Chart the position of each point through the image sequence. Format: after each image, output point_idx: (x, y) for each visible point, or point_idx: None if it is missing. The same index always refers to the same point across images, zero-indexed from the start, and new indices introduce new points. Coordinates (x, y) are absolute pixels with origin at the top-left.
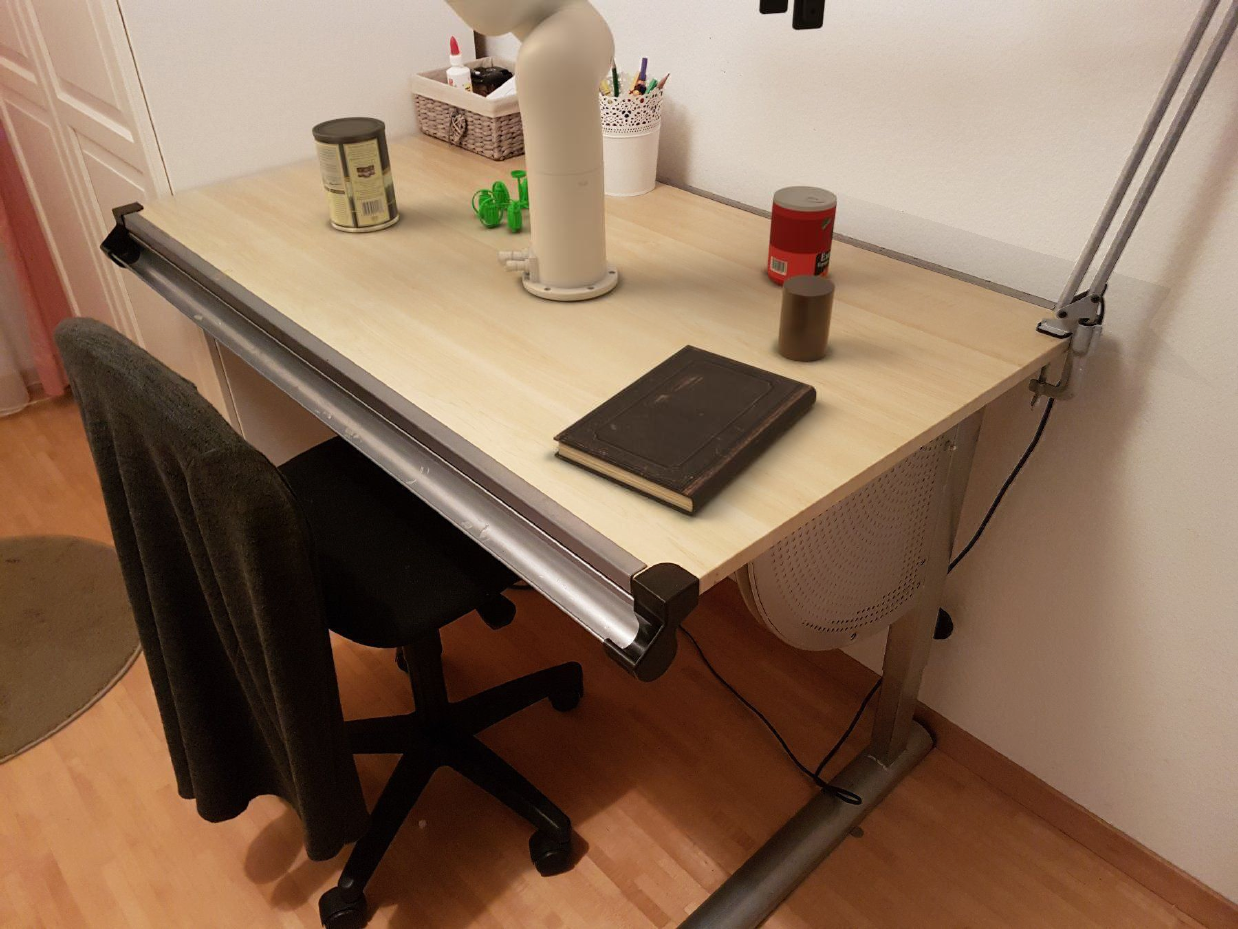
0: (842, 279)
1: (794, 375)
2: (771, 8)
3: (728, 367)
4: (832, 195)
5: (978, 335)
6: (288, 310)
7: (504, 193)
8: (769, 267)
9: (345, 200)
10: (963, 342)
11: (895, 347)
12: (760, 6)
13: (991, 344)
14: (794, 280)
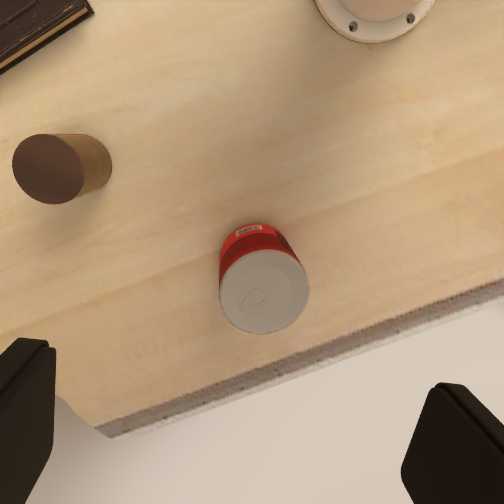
0: None
1: (29, 122)
2: (429, 430)
3: (9, 23)
4: (250, 328)
5: (60, 344)
6: None
7: None
8: (263, 225)
9: None
10: (50, 323)
11: (59, 258)
12: (463, 397)
13: None
14: (69, 160)
